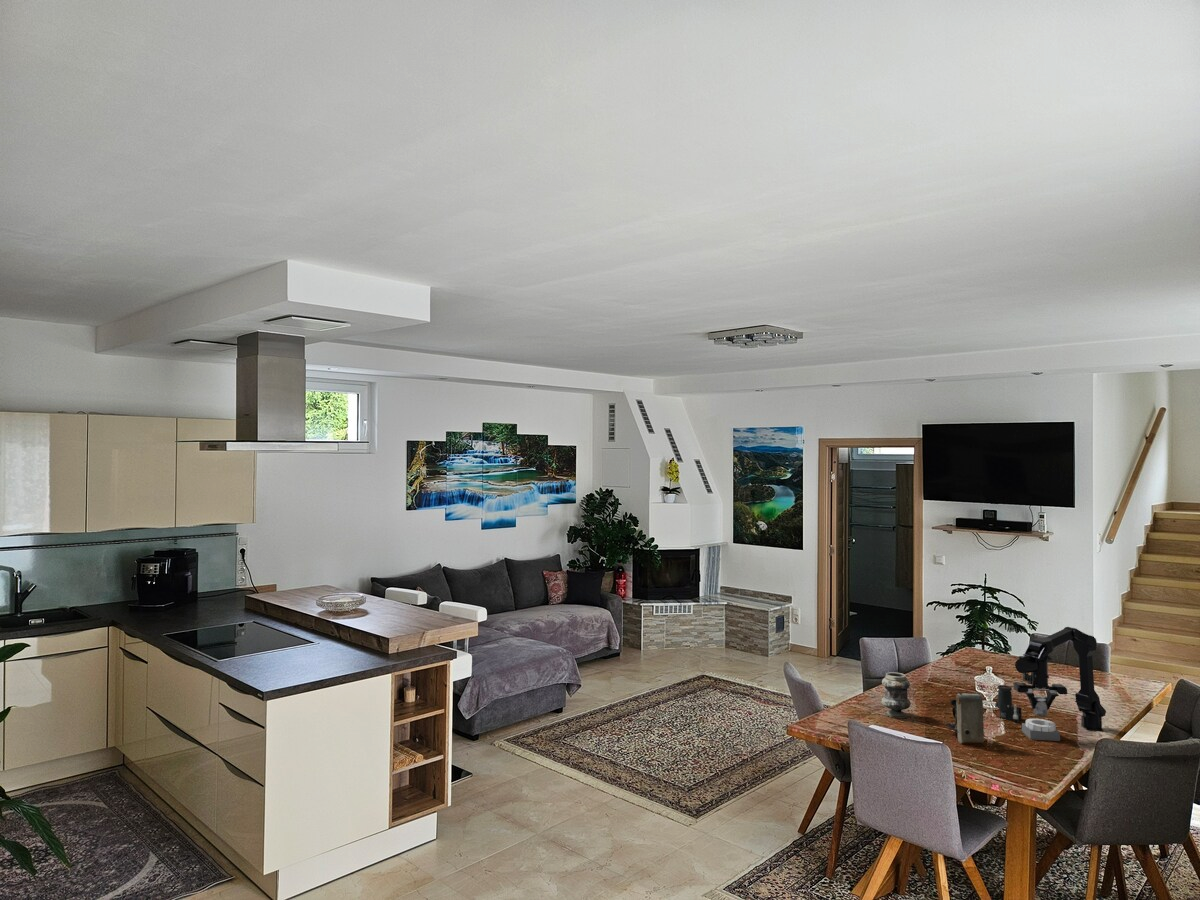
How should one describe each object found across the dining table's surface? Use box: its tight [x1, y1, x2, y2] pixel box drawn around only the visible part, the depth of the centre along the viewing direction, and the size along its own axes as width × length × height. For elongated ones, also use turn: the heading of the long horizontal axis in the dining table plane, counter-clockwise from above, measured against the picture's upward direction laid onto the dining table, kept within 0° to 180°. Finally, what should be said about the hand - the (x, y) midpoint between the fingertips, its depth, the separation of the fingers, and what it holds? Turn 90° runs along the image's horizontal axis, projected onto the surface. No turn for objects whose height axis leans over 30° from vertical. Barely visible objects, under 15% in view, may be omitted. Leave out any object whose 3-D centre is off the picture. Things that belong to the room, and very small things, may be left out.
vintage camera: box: [944, 692, 985, 745], centre depth 321 cm, size 10×15×20 cm, turn 2°
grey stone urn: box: [881, 671, 912, 719], centre depth 351 cm, size 12×12×18 cm
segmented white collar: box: [1021, 718, 1061, 742], centre depth 323 cm, size 11×10×6 cm
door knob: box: [1032, 694, 1048, 717], centre depth 323 cm, size 5×5×7 cm
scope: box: [994, 684, 1023, 724], centre depth 345 cm, size 8×14×10 cm
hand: (1040, 709), depth 323 cm, fingers closed on door knob, 5 cm apart
